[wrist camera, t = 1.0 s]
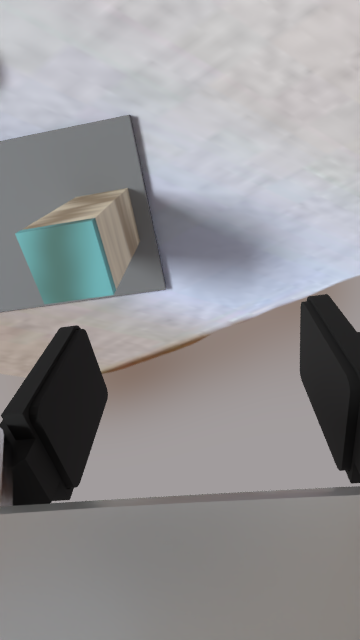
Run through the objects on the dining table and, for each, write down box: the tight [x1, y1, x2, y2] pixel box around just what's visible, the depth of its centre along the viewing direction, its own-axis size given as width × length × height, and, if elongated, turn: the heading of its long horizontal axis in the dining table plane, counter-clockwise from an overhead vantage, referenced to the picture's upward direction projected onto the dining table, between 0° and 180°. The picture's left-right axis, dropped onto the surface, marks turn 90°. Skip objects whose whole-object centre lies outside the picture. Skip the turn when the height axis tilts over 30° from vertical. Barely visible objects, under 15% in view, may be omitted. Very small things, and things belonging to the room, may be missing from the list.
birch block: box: [15, 188, 140, 304], centre depth 27 cm, size 5×5×12 cm
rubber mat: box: [0, 115, 166, 312], centre depth 33 cm, size 22×16×1 cm
